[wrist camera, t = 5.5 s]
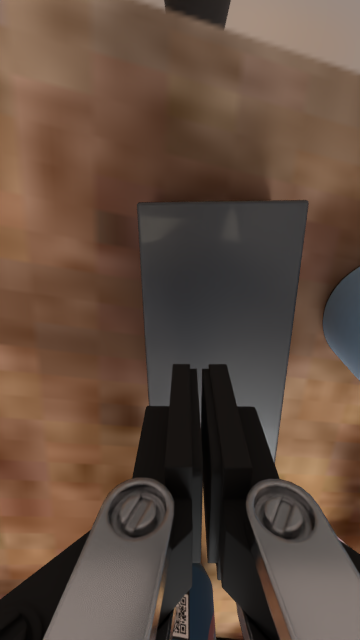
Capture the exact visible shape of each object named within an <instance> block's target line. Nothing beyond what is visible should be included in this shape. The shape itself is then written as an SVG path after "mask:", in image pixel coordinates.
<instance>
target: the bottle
mask: <svg viewBox="0 0 360 640" xmlns="http://www.w3.org/2000/svg"><path fill="white" fill-rule="evenodd" d="M323 331H324V335H325V338H326V341H327V343H328V344H329V346H330V348H331V349H332V350H333V351H334V353H335V354H336V355H337V356H338V357H339V358H340V359H341V360H342V362H343V363H344V364H345V365H346V366H347V367H348V368H349V369H350V370H351V372H352V373H353V374H354V375H355V376H356V377H357V378H358V379H359V381H360V267H359V268H357V269H355V270H354V271H353V272H351V273H350V274H349V275H347V276H346V277H345V278H344V279H343V280H342V281H341V282H340V283H339V284H338V285H337V287H336V288H335V290H334V291H333V292H332V294H331V296H330V298H329V299H328V302H327V304H326V307H325V311H324V315H323Z"/></svg>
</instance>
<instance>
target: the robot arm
mask: <svg viewBox="0 0 360 640" xmlns="http://www.w3.org/2000/svg"><path fill="white" fill-rule="evenodd" d="M202 493H204V510H205V527H206V543H207V559H208V563H216V567H217V579H218V580H221V583H222V588H223V589H224V590H225V591H226V592H227V593H228V594H229V595H230V596H231V597H232V598H233V600H234V601H235V602H236V604H237V613H238V617H239V621H240V626H241V630H242V634H243V638H244V640H360V554H359V553H357V552H356V551H355V550H353V549H352V548H350V547H349V546H347V545H346V544H345V543H343V542H342V541H340V540H339V539H338V537H337V535H336V534H335V532H334V530H333V529H332V527H331V525H330V524H329V522H328V520H327V519H326V517H325V515H324V514H323V512H322V510H321V509H320V507H319V505H318V504H317V503H316V501H315V500H314V499H313V498H312V496H311V495H310V494H309V493H307V492H306V491H305V490H304V489H302V488H301V487H299V486H297V485H295V484H294V483H292V482H289V481H285V480H281V479H279V476H278V473H277V470H276V467H275V464H274V461H273V458H272V455H271V452H270V449H269V446H268V443H267V440H266V437H265V434H264V431H263V428H262V425H261V422H260V419H259V416H258V413H257V411H256V408H255V407H251V406H237V404H236V400H235V396H234V392H233V388H232V384H231V380H230V375H229V371H228V367H227V364H209V368H208V369H202V396H201V425H200V410H199V394H198V378H197V369H190V364H173V368H172V380H171V392H170V404H169V406H147V407H146V411H145V416H144V421H143V426H142V431H141V436H140V441H139V447H138V452H137V457H136V462H135V467H134V472H133V477H132V479H130V480H126V481H125V482H123V483H121V484H119V485H117V486H116V487H115V488H114V489H113V490H112V491H111V492H110V493H109V494H108V496H107V497H106V499H105V500H104V502H103V504H102V506H101V508H100V511H99V513H98V515H97V518H96V520H95V522H94V524H93V527H92V529H91V530H90V531H89V532H87V533H86V534H85V535H83V536H82V537H81V538H80V539H78V540H77V541H76V542H74V543H73V544H72V545H70V546H69V547H68V548H67V549H65V550H64V551H63V552H61V553H60V554H59V555H58V556H56V557H55V558H54V559H52V560H51V561H50V562H48V563H47V564H46V565H45V566H43V567H42V568H41V569H39V570H38V571H37V572H35V573H34V574H33V575H32V576H30V577H29V578H28V579H26V580H25V581H24V582H22V583H21V584H20V585H19V586H17V587H16V588H15V589H13V590H12V591H11V592H9V593H8V594H7V595H6V596H4V597H3V598H2V599H0V640H172V637H173V630H174V623H175V616H176V605H177V604H178V603H179V601H180V600H181V599H182V598H183V597H184V596H185V594H186V593H187V592H188V591H189V590H190V588H191V587H192V563H201V532H202Z"/></svg>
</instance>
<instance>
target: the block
mask: <svg viewBox="0 0 360 640" xmlns="http://www.w3.org/2000/svg"><path fill="white" fill-rule="evenodd" d="M308 204H309V202H308V201H307V200H273V201H202V202H140V203H138V204H137V214H138V231H139V247H140V264H141V281H142V297H143V314H144V330H145V347H146V364H147V380H148V397H149V406H169V404H170V392H171V380H172V368H173V364H190V369H197V378H198V394H199V410H200V425H201V396H202V369H208V368H209V364H227V367H228V371H229V375H230V380H231V384H232V388H233V392H234V396H235V400H236V404H237V406H251V407H255V408H256V411H257V413H258V416H259V419H260V422H261V425H262V428H263V431H264V434H265V437H266V440H267V443H268V446H269V449H270V452H271V455H272V458H273V461H274V464H275V458H276V450H277V443H278V435H279V427H280V420H281V412H282V404H283V397H284V389H285V381H286V374H287V366H288V358H289V350H290V343H291V335H292V327H293V320H294V312H295V304H296V297H297V289H298V281H299V274H300V266H301V258H302V250H303V243H304V235H305V227H306V220H307V212H308Z"/></svg>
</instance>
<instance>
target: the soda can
mask: <svg viewBox="0 0 360 640" xmlns="http://www.w3.org/2000/svg"><path fill="white" fill-rule="evenodd" d="M172 640H216V634H215V619H214V604H213V589H212V584H211V581H210V578H209V577H208V575H207V573H206V571H205V569H204V568H203V566H202V564H201V563H192V587H191V588H190V590H189V591H188V592H187V593H186V594H185V596H184V597H183V598H182V599H181V600H180V601H179V603H178V604H177V605H176V616H175V623H174V630H173V637H172Z"/></svg>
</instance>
